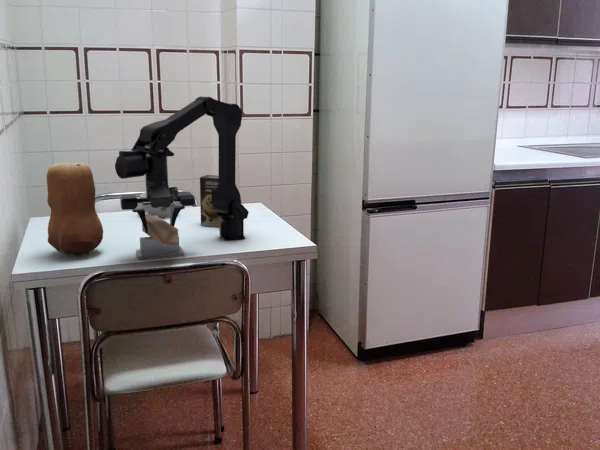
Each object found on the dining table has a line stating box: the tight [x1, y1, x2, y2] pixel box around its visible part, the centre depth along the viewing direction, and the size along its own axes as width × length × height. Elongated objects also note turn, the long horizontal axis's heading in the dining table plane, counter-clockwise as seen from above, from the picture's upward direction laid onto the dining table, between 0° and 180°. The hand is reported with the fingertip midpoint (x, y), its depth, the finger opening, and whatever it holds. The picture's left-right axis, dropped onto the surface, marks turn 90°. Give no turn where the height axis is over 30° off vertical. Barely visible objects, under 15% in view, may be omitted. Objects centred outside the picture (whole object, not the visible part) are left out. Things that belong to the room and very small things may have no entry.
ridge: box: [135, 235, 185, 261], centre depth 154 cm, size 12×6×5 cm, turn 111°
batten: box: [141, 215, 180, 246], centre depth 153 cm, size 4×18×4 cm, turn 32°
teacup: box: [139, 192, 173, 218], centre depth 198 cm, size 15×12×8 cm
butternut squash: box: [46, 161, 104, 257], centre depth 152 cm, size 14×13×25 cm
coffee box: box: [199, 174, 221, 228], centre depth 187 cm, size 9×6×16 cm
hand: (159, 232), depth 153 cm, fingers open, 6 cm apart
